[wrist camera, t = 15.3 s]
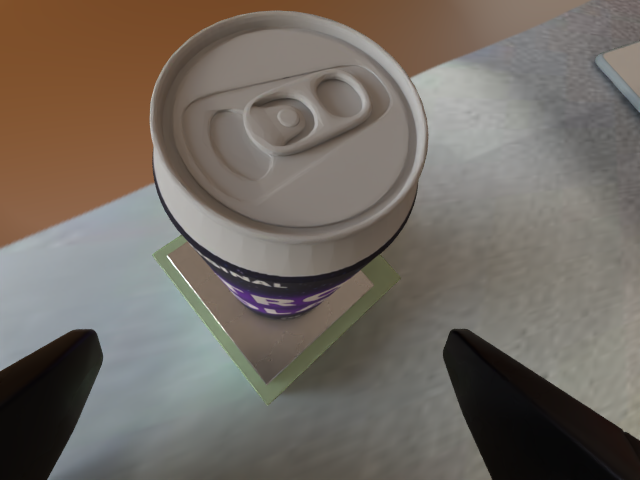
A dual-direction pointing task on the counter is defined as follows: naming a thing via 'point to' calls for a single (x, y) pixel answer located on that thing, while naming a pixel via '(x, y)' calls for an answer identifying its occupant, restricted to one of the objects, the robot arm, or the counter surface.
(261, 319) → the pan
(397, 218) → the beverage can
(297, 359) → the scale
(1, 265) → the counter surface
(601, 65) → the smartphone
